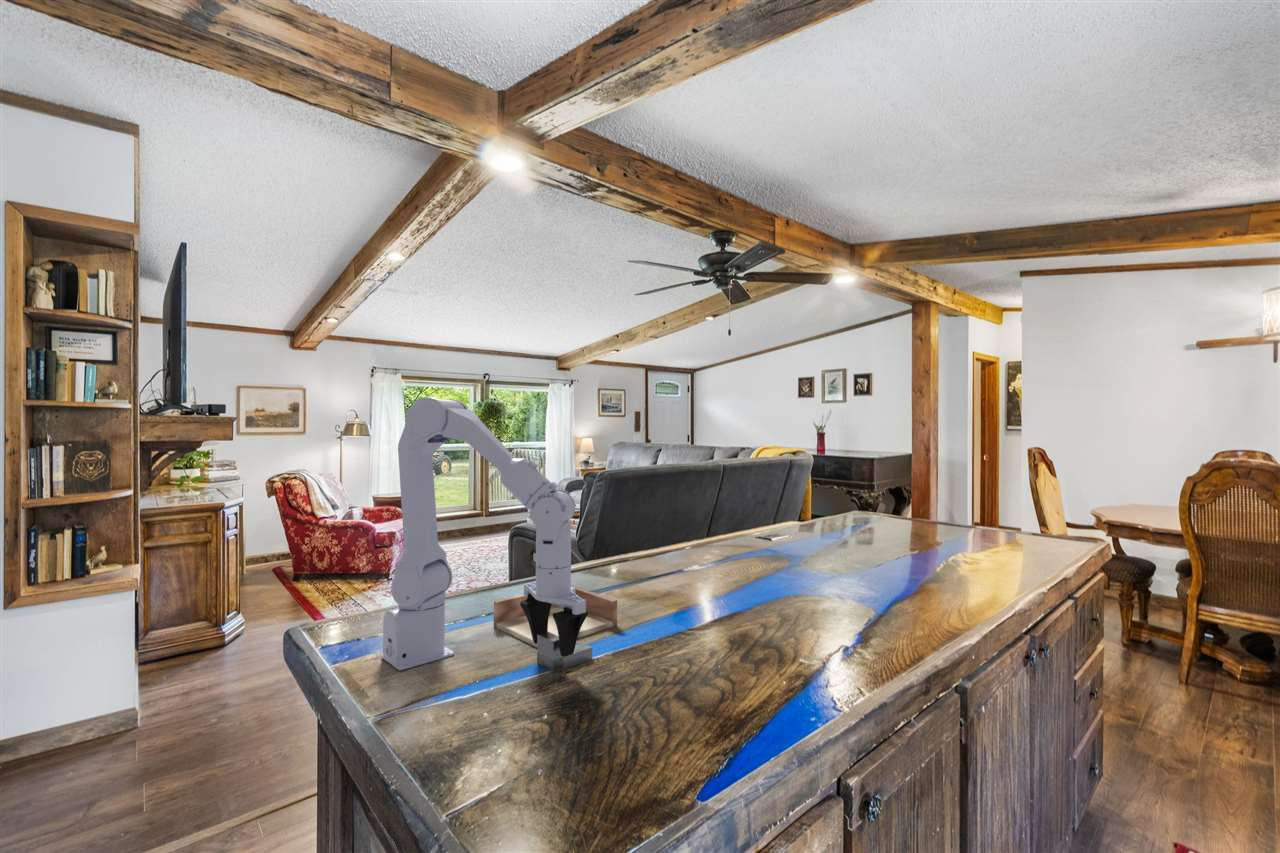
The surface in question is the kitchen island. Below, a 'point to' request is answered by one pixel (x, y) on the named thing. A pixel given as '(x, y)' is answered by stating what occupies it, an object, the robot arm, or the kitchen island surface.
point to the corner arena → (517, 625)
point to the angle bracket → (551, 654)
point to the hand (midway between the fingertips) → (553, 648)
